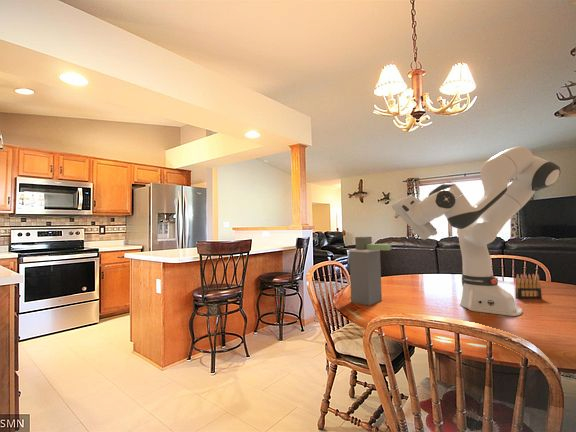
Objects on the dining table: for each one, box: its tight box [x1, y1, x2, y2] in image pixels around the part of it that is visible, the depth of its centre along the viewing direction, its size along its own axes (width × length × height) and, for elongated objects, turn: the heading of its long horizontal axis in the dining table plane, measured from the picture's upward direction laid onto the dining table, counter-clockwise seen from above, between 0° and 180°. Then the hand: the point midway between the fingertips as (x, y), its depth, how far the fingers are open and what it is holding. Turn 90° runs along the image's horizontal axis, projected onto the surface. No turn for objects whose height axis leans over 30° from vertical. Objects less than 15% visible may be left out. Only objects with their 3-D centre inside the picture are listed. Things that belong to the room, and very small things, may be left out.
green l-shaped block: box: [354, 236, 392, 251], centre depth 143 cm, size 16×7×6 cm, turn 44°
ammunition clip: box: [515, 273, 543, 300], centre depth 144 cm, size 11×2×12 cm, turn 82°
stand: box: [348, 248, 383, 307], centre depth 147 cm, size 10×12×26 cm
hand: (403, 224), depth 134 cm, fingers open, 8 cm apart
